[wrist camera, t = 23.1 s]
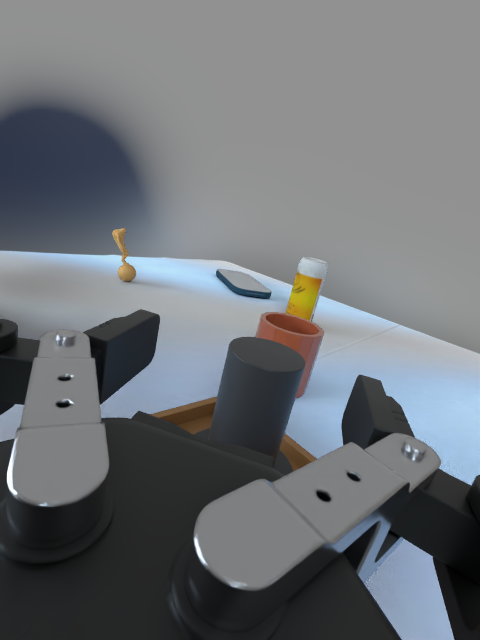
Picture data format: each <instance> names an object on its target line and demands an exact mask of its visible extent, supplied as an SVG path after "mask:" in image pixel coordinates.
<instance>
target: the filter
mask: <svg viewBox="0 0 480 640" xmlns="http://www.w3.org/2000/svg"><path fill="white" fill-rule="evenodd" d="M304 368H305V360H304V358H303V357H302V356H301V355H300V354H299V353H298V352H296V351H295V350H293V349H291V348H290V347H288V346H285V345H283V344H281V343H278V342H275V341H272V340H268V339H263V338H257V337H241V338H236V339H234V340H232V341H231V342H230V344H229V348H228V352H227V357H226V361H225V365H224V370H223V374H222V379H221V383H220V387H219V392H218V396H217V400H216V405H215V409H214V413H213V418H212V422H211V426H210V428H208V429H205V430H202V431H199V432H197V433H195V434H193V435H195V436H197V437H198V438H201V439H204V440H209V441H216V442H222V443H228V444H234V445H240V446H243V447H246V448H249V449H252V450H254V451H257V452H260V453H263V454H266V455H269V456H272V457H274V462H273V467H272V468H273V469H275V470H277V471H278V472H280V473H281V474H283V475H284V476H286V475H288V474H290V473H292V472H294V471H293V468H292V466H291V464H290V462H289V460H288V459H287V457H286V456H285V455H284V454H283V452H282V451H281V450H280V446H281V442H282V439H283V436H284V433H285V430H286V426H287V423H288V420H289V417H290V413H291V410H292V407H293V404H294V401H295V397H296V394H297V391H298V388H299V384H300V381H301V378H302V375H303V372H304Z"/></svg>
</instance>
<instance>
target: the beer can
mask: <svg viewBox="0 0 480 640" xmlns="http://www.w3.org/2000/svg"><path fill="white" fill-rule="evenodd" d="M327 269H328V267H327V262H325V261H322V260H318V259H314V258H310V257H303V258H302V260H301V261H300V263H299V266H298V270H297V274H296V277H295V281H294V284H293V288H292V292H291V295H290V299H289V303H288V306H287V310H286V314H290V315H294V316H297V317H300V318H303V319H306V320H308V321H310V322H312V319H313V316H314V312H315V309H316V306H317V302H318V299H319V296H320V292H321V289H322V286H323V283H324V279H325V276H326V273H327Z"/></svg>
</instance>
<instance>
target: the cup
mask: <svg viewBox="0 0 480 640" xmlns="http://www.w3.org/2000/svg"><path fill="white" fill-rule="evenodd" d="M323 336H324V331H323V329H322V328H320V327H319V326H318V325H316V324H315V323H313V322H310V321H308V320H306V319H303V318H300V317H297V316H294V315H290V314H285V313H278V312H266V313H264V314H262V315H261V317H260V321H259V325H258V329H257V332H256V336H255V337H257V338H263V339H268V340H272V341H275V342H278V343H281V344H283V345H285V346H288V347H290V348H291V349H293V350H295V351H296V352H298V353H299V354H300V355H301V356H302V357H303V358H304V360H305V368H304V372H303V375H302V378H301V381H300V384H299V388H298V391H297V394H296V397H295V398H299V397H301V396H302V395H304V393H305V391H306V388H307V386H308V383H309V380H310V377H311V374H312V370H313V367H314V364H315V361H316V358H317V355H318V352H319V348H320V345H321V342H322V339H323Z"/></svg>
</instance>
